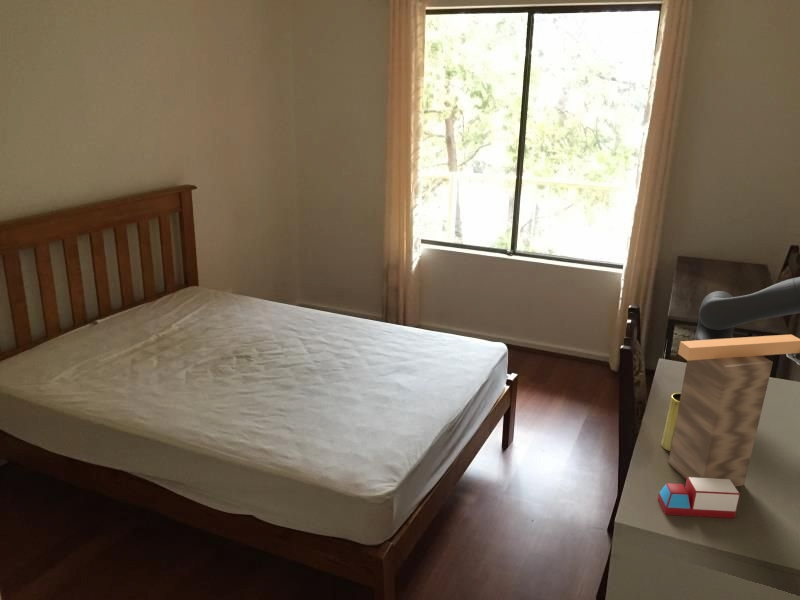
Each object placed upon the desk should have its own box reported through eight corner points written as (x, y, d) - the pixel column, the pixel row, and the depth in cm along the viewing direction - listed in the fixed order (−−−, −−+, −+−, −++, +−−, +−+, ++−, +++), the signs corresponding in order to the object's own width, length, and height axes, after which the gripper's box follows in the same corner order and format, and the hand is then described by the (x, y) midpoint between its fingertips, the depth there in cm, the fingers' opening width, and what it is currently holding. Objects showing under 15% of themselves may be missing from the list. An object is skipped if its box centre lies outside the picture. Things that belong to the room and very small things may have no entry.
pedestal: (709, 456, 166) (734, 340, 155) (744, 485, 155) (772, 361, 144) (668, 463, 163) (690, 344, 152) (700, 492, 152) (726, 367, 141)
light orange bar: (788, 346, 152) (791, 334, 151) (799, 352, 149) (802, 340, 148) (678, 353, 147) (680, 341, 146) (687, 360, 144) (689, 348, 143)
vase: (685, 442, 172) (694, 394, 167) (686, 455, 167) (696, 405, 162) (660, 438, 174) (669, 390, 169) (661, 450, 169) (669, 401, 164)
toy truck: (657, 499, 150) (661, 475, 148) (724, 503, 149) (730, 478, 147) (664, 515, 145) (669, 490, 142) (734, 519, 144) (740, 493, 142)
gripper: (813, 347, 164) (774, 321, 158) (864, 373, 151) (823, 345, 145) (795, 372, 165) (755, 348, 159) (844, 399, 152) (802, 374, 146)
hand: (787, 347), depth 152 cm, fingers open, 8 cm apart
